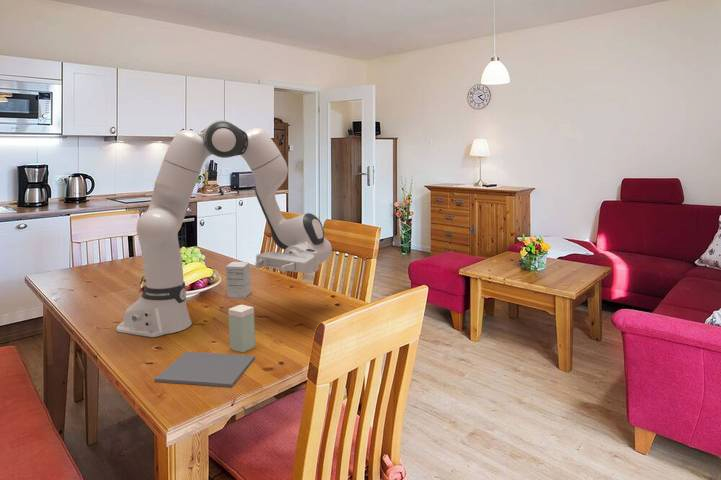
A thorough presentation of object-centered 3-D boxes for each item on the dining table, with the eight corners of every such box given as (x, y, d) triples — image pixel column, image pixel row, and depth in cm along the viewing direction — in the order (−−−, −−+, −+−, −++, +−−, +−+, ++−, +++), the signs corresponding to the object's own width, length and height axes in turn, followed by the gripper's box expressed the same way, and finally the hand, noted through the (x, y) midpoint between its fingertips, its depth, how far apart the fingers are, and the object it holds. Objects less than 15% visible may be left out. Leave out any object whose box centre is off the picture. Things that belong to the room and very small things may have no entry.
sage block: (230, 348, 136) (228, 309, 133) (242, 342, 140) (240, 304, 138) (243, 352, 133) (241, 312, 131) (255, 346, 137) (253, 307, 135)
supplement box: (233, 292, 189) (231, 261, 187) (251, 292, 189) (250, 262, 186) (226, 297, 182) (224, 266, 180) (245, 298, 181) (243, 266, 179)
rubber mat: (154, 381, 116) (154, 378, 116) (186, 354, 132) (186, 351, 132) (231, 387, 114) (231, 384, 114) (254, 358, 129) (254, 355, 129)
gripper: (272, 245, 159) (243, 253, 147) (322, 252, 149) (294, 260, 137) (273, 263, 160) (244, 272, 149) (322, 271, 150) (295, 281, 138)
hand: (268, 267), depth 143 cm, fingers open, 8 cm apart
